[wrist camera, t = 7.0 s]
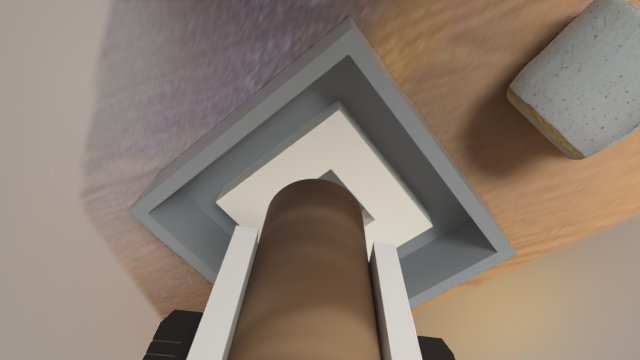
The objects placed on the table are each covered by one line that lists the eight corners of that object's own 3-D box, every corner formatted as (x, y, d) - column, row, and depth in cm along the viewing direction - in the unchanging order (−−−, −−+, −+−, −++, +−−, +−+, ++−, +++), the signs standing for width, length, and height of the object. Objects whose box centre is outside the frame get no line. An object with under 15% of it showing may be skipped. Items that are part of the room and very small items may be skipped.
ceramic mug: (483, 82, 31) (526, 120, 24) (578, -14, 28) (658, -2, 21) (573, 163, 34) (633, 216, 27) (668, 84, 31) (763, 122, 24)
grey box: (349, 15, 29) (352, 28, 24) (490, 210, 36) (516, 254, 31) (158, 173, 35) (127, 211, 30) (309, 313, 42) (305, 364, 37)
